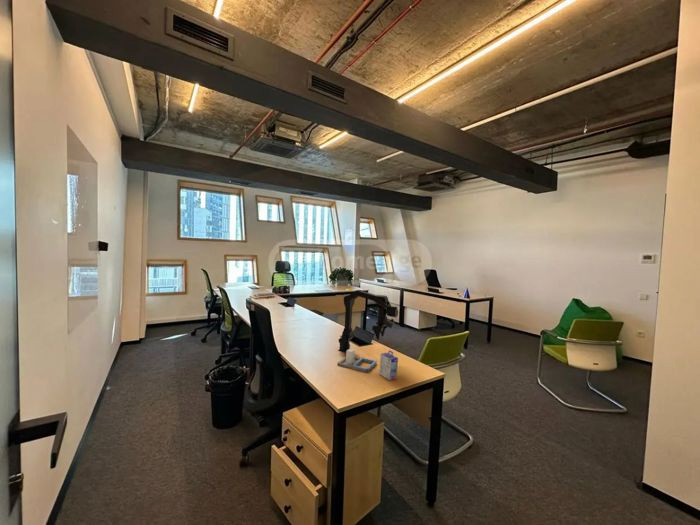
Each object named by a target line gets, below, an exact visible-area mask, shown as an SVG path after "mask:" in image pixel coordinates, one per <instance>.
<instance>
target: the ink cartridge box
mask: <svg viewBox="0 0 700 525" xmlns="http://www.w3.org/2000/svg"><path fill="white" fill-rule="evenodd" d="M379 360H380V361H379V370H378V371H379V373H378V374H379V375H380V376H381V377H383V378H385V379H387V380H389V381H393V380H397V379H398V378H397V376H398V364H399V363H398V362H399V357H397V356H395V355H394V352H393V351H392V350H390V349H389V351H388V352H383V353H380V359H379Z"/></svg>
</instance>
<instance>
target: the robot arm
mask: <svg viewBox="0 0 700 525" xmlns="http://www.w3.org/2000/svg"><path fill="white" fill-rule="evenodd" d="M358 298H363V299H366V300H369V301H373V302H375V304H376V305H375V306H374V308H377V316H376V318H375V319H376V322H375V324H374V325H373V326H371V330H372V332H373V333H374V336H375V338H376V340H377V341H380V338H381V337H384V335H385V332H386V329H387V328H389V329H392V328H393V327H394V326H395V319H393V318H398V316H399V309H398V306H393V305H392V303H391V302H390V300H389V297H388V296H387V295H384V294H374V293H371V292H367V291H364V290H361V289H357V290H355V291H354V292H352V293H351V294H348V295H347V294H346V295H345V296H343V305H344V307H345V308H344V309H345V312H344V328H343V330H342V333H341V337H340V338H338V339H337V340H338V343H339V349H338V351H339V352H343V353H346V351H347V350H348V349H351V343H350V342H351V340H352V339H353V338H354V337H355V330H354V329H353V328H352V321H353V320H352V318H353V317H352V316H353V307H354V305H355V300H356V299H358ZM388 317H392V318H391V319H389V318H388Z"/></svg>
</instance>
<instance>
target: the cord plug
mask: <svg viewBox="0 0 700 525" xmlns="http://www.w3.org/2000/svg"><path fill="white" fill-rule="evenodd" d="M345 354H346V355H345V357H346V361H345V364H348V365H353V364H354V363H355V360H354V357H356V350H355V349H351V348H350V349H348V350H347V351H346V352H345Z"/></svg>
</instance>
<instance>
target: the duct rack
mask: <svg viewBox="0 0 700 525" xmlns="http://www.w3.org/2000/svg"><path fill="white" fill-rule="evenodd" d="M344 362H346V356H345V357H344V358H343V359H341V360H340V361H338V362H337V366H340V367H343V368H348V369H352V370H356V371H360V372H364V373H369V372H370V371H371V370H372V369H373V367H375V366H376V365H377V362H378V361H377V360H376V359H375V360H374V359H371V358H370V359H369V358H365V357H359V356H355V357H354V363H353V364H352V365H351V364H347V363H344ZM362 363H368V364H369V365H368V367H363V366H361V365H360V364H362ZM359 365H360V366H359Z"/></svg>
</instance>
